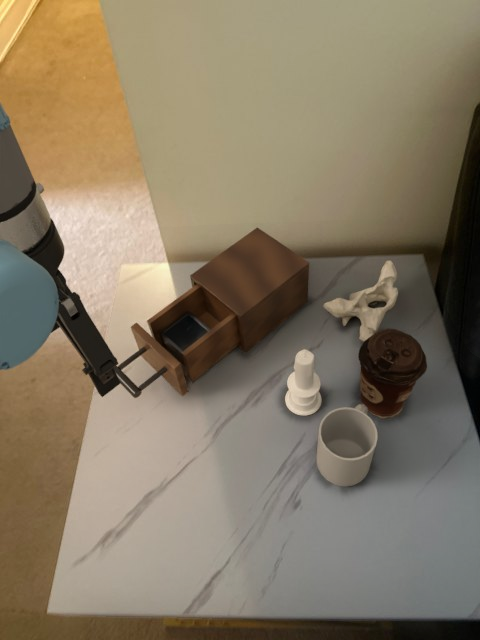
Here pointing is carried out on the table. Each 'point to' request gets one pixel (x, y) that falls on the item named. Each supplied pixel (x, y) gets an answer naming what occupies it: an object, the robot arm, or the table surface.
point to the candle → (303, 386)
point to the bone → (368, 296)
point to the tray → (182, 334)
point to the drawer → (195, 356)
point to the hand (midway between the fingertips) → (80, 357)
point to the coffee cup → (389, 370)
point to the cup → (346, 445)
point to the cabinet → (256, 284)
